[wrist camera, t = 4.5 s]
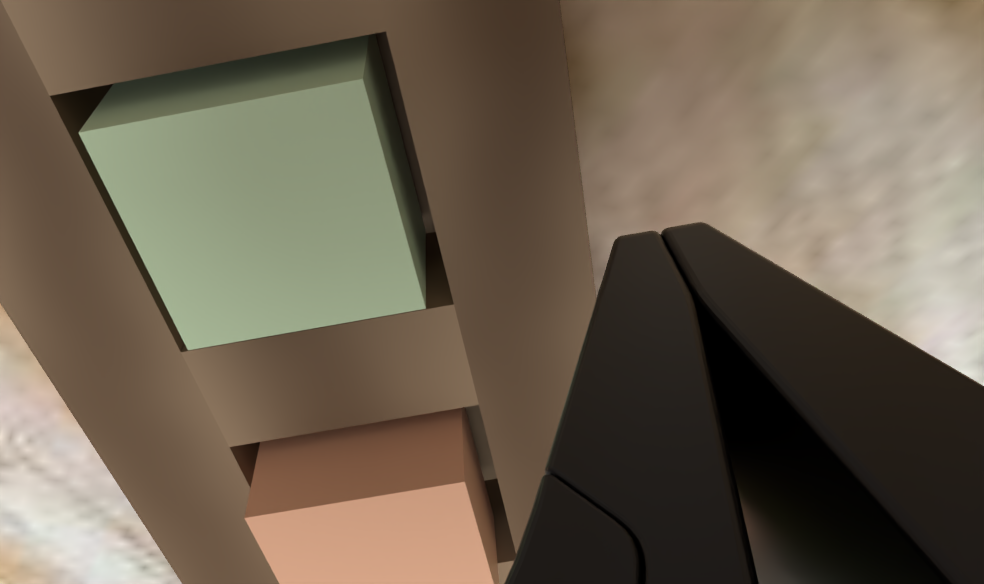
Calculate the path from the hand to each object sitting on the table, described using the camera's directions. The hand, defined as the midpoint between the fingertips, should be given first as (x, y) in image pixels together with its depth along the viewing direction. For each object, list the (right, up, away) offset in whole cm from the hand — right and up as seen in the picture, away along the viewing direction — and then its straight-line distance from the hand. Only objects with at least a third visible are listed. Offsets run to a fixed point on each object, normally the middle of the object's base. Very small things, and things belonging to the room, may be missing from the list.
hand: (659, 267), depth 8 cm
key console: (-5, -3, +17) cm, 18 cm away
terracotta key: (-4, -5, +15) cm, 16 cm away
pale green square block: (-6, +3, +10) cm, 12 cm away
